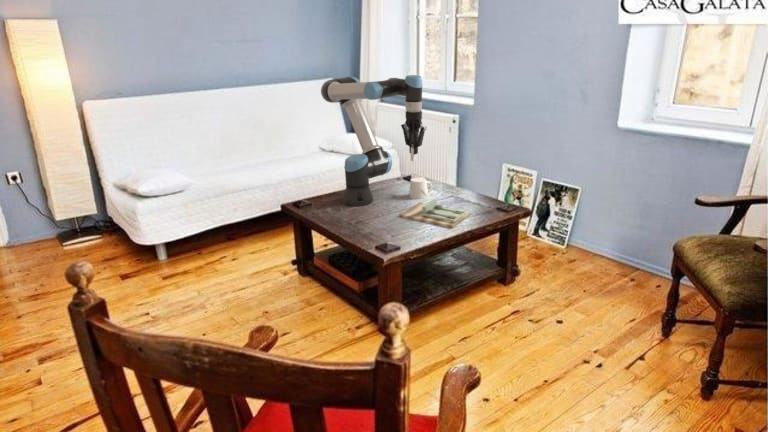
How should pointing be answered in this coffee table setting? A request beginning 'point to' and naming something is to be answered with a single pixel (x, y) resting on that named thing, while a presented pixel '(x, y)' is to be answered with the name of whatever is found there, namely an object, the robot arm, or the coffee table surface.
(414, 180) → the mug
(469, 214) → the board
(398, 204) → the coffee table surface
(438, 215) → the panel
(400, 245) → the coffee table surface
